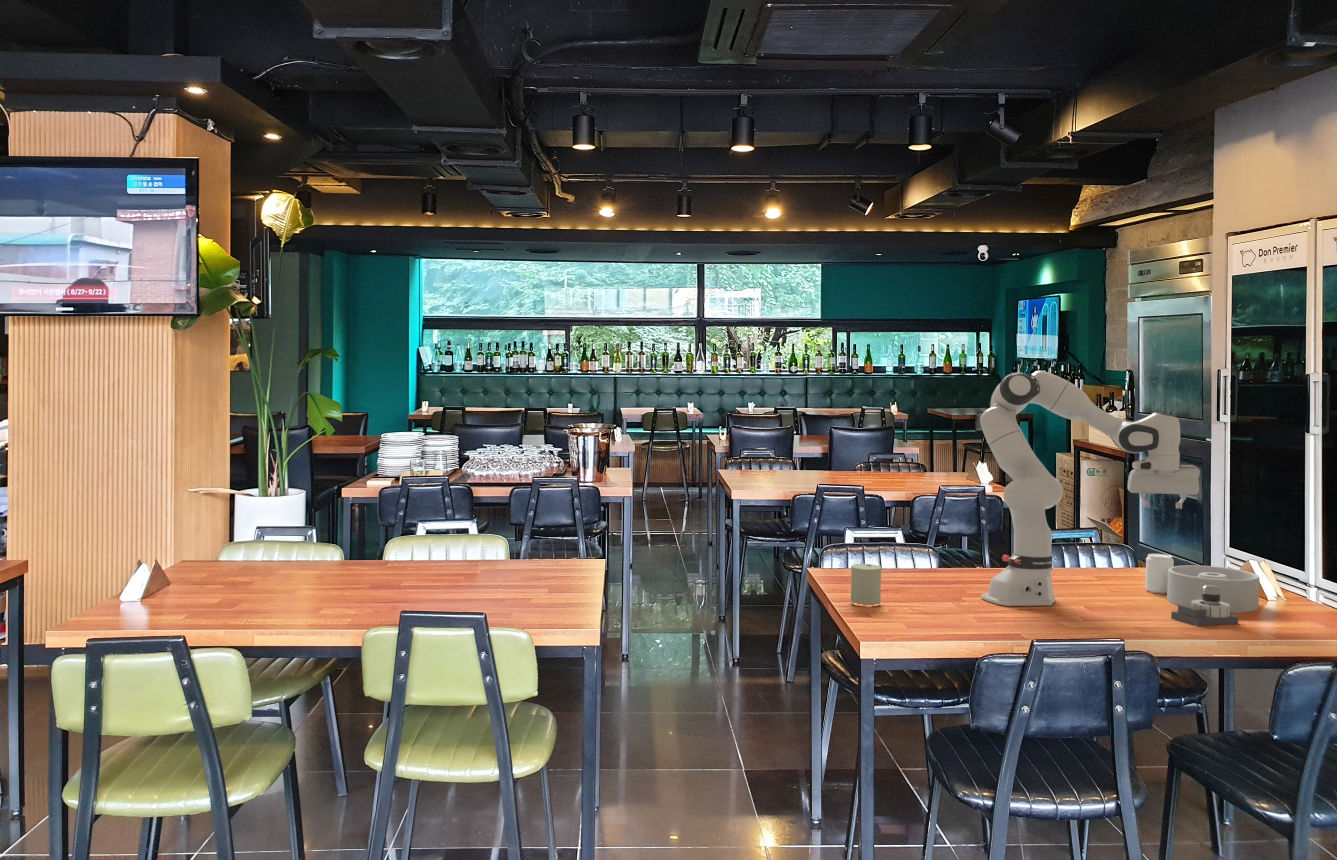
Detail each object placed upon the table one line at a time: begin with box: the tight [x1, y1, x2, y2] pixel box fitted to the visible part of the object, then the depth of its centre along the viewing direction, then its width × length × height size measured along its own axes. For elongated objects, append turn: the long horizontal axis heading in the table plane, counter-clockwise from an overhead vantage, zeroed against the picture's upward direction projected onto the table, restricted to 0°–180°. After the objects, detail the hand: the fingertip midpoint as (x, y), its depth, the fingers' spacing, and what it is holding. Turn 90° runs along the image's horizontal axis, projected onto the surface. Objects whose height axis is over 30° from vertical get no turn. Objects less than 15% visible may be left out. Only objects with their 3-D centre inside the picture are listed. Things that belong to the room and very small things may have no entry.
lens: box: [1202, 585, 1220, 605], centre depth 287 cm, size 5×5×8 cm
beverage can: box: [1144, 553, 1175, 595], centre depth 327 cm, size 8×8×12 cm
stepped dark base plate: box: [1170, 600, 1239, 627], centre depth 287 cm, size 14×10×5 cm
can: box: [850, 563, 882, 605], centre depth 305 cm, size 9×9×12 cm
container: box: [1166, 565, 1260, 614], centre depth 310 cm, size 25×25×10 cm
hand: (1162, 508), depth 314 cm, fingers open, 8 cm apart
